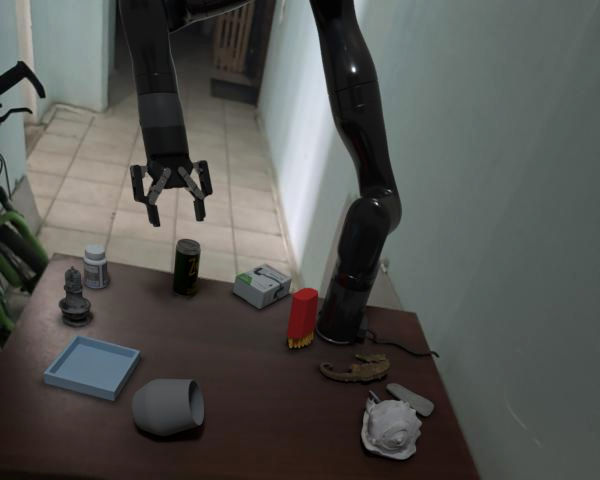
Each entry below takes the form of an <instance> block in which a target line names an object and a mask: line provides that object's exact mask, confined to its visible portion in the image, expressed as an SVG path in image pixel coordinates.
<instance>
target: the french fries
mask: <svg viewBox="0 0 600 480" xmlns="http://www.w3.org/2000/svg"><path fill="white" fill-rule="evenodd" d="M318 303H319V290H318V289H315V288H312V287H303V288H301V289H299V290H297V291H295V292H294V293H293V294H292V301H291V306H290V313H289V318H288V319H289V320H288V325H287V332H286V336H287V342H288V347H289V348H290V349H292V348H293V347H294V348H295V349H296V348H298V349H301V347H302V348H304V347H305V346H309V345H310V344H311V343H312V341H313V340H314V330H315V327H316V322H317V321H316V320H317V313H318V311H317V310H318Z"/></svg>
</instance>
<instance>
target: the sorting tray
mask: <svg viewBox="0 0 600 480" xmlns="http://www.w3.org/2000/svg"><path fill="white" fill-rule="evenodd" d="M140 361H141V350H139V349H134V348H132V347H131V348H130V347H128V346H123V345H119V344H115V343H113V342H109V341H104V340H101V339H97V338H94V337H89V336H86V335H82V334H79V333H76V334H75V335H74V336H73V337H72V338H71V340H70V341H69V342H68V343H67V345H66V346H65V347H63V349H62V351H61V352H60V353H59V354H58V355H57V356H56V358H55V359H54V360H53V361H52V362H51V364H50V365H49V366H48V367H47V368H46V370H45V371H44V372H43V378H44V380H43V381H44V383H45V384H46V385H51V386H55V387H58V388H62V389H66V390H69V391H73V392H77V393H81V394H85V395H88V396H91V397H95V398H100V399H103V400H108V401H111V402H115V401H116V399H117V398H118V397H119V394H120V393H121V391H122V390H123V388H124V387H125V385H126V383H127V382H128V380H129V379H130V377H131V376H132V375H133V372H134V371H135V369H136V367H137V366H138V365H139V362H140Z"/></svg>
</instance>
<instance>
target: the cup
mask: <svg viewBox="0 0 600 480" xmlns="http://www.w3.org/2000/svg"><path fill="white" fill-rule="evenodd" d="M131 414H132V417H133V418H132V419H133V421H134V423H135V424H136V426H137V427H138V428H139V429H140V430H142V431H145V432H147V433H150V434H152V435H155V436H160V437H168V436H171V435H174V434H177V433H180V432H183V431H186V430H190V429H193V428H197V427H199V426H201V425H202V424H203V422H204V416H205V403H204V396H203V393H202V390H201V388H200V385H199V383H198V382H197V380H195V379H190V378H189V379H187V378H185V379H184V378H183V379H182V378H156V379H153V380H151V381H149V382H147V383H146V384H145V385H143V386H142V387H140V388H139V389H138V390H136V391H135V392H134V394H133V396H132V400H131Z"/></svg>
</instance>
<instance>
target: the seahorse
mask: <svg viewBox="0 0 600 480" xmlns="http://www.w3.org/2000/svg"><path fill="white" fill-rule="evenodd" d="M355 358H357V359H361V360H364V361H366V362H365V363H361V365H360V364H357V363H351V365H350V366H349V367H348V369H349V371H350V372H346V373H338V372H333V371H330V370H328V369H326V368H325V366H328V368H331V369H332V368H333V367H334V365H333V364H332V363H331V362H328V361H322V362H321V363H320V364H319V371H320V372H321V374H323V375H324V376H326V377H329V378H331V379H333V380H338V381H343V382H346V383H348V381H349V382H353V383H354V384H355V383H356V382H358V381H362V382H363V383H364V382H367V383H369V381H372V380H374V379H375V380H376V379H379V380H382V377H385V375H388V374H389V373H388V372H390V370H392V369H391V366H392V363H390V358H386V353H383V352H382V353H378V352H377V354H373V352H371V353H370V354H368V355H367V354H366V356H365V355H360V354H355Z"/></svg>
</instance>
